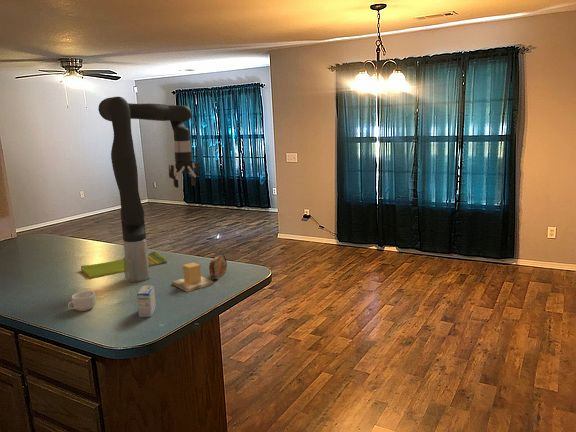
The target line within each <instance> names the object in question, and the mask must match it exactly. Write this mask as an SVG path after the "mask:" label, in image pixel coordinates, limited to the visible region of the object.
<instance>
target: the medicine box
mask: <svg viewBox="0 0 576 432" xmlns="http://www.w3.org/2000/svg"><path fill="white" fill-rule="evenodd" d="M136 299H137V313H138V317H139V318H151V317H152V316H153V314H154V312H155V309H156V308H157V302H156V289H155V285H142V286H141V287H140V289H139V290H138V293H137V294H136Z"/></svg>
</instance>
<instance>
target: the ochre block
mask: <svg viewBox="0 0 576 432" xmlns="http://www.w3.org/2000/svg"><path fill="white" fill-rule="evenodd" d="M182 270H183V271H182V272H183V278H184V282H186V283H188V284H194V283H197V282H201V276H202V274H201V265H200V264H198V263H196V262H189V263H187V264H186V263H185V264H183V265H182Z"/></svg>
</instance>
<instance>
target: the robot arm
mask: <svg viewBox="0 0 576 432" xmlns="http://www.w3.org/2000/svg"><path fill="white" fill-rule="evenodd" d="M97 110H98V113H99V115H100V116H101V118H102V119H104V120H105V121H108V122H111V123H112V124H111V125H112V129H113V141H112V146H111V151H110V159H111V166H112V171H113V174H114V175H113V176H114V178H115V182H116V185H117V188H118V192H119V193H118V194H119V198H120V199H119V200H120V221H121V230H122V231H121V232H122V239H123V240H122V242H123V251H124V253H123V254H124V257H123V258H122V259H123V261H124V271H125V272H124V278H125V279H124V280H127V281H128V282H130V283H134V282H142V281H146V280H148V279H150V267H149V264H148V254H149V252H148V245H147V243H148V242H147V231H146V222H145V210H144V208H143V205H142V201H141V197H140V192H139V177H138V176H139V175H138V174H139V173H138V165H137V159H136V154H135V153H136V152H135V149H134V141H133V135H132V134H133V133H132V123H131V121H132V120H146V121H156V122H157V121H158V122H159V121H161V122H168V121H169V122H170V124H171V128H172V130H173V131H172V132H173V151H174V152H173V153H174V161H175V164H174V165H173V164H169V165H168V177H169V179H173V187H174V188H177V189H178V188H179V186H180V185H179V177H180V176H181V174H189V175H190V177H191V178H190V182H191V186H194V187H195V186H196V184H197V181H196V180H197V179H196V178H197V177H199V176H200V167H199V162H192V161H193V157H192V156H193V155H192V145H191V134H190V129H189V128H188V127H186V126H185V123H186V122H188V121H190V120H191V118H192V116H193V113H192V110H191V108H190V107H189V106H187V105H180V104H179V105H178V104H176V105H175V104H174V105H173V104H172V105H170V104H163V103H162V104H161V103H129V102H128V101H127V100H126V99H125V98H124V97H121V96H112V97H106V98H104V99H103V100H101V101H100V102H99V104H98V109H97ZM192 168H193V169H192Z"/></svg>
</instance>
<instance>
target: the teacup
mask: <svg viewBox="0 0 576 432" xmlns="http://www.w3.org/2000/svg"><path fill="white" fill-rule="evenodd" d="M70 304H72V305H73V306H72V307H71V305H70ZM95 304H96V292H95V291H93V290H83V291H80V292H79V291H78V292H76V293H73V294H72V295H71V301H69V302H68V304H67V308H68V309H70V310H76V311H78V312H86V311H87V312H88V311H89V310H92V309H93V307H94V306H95Z"/></svg>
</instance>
